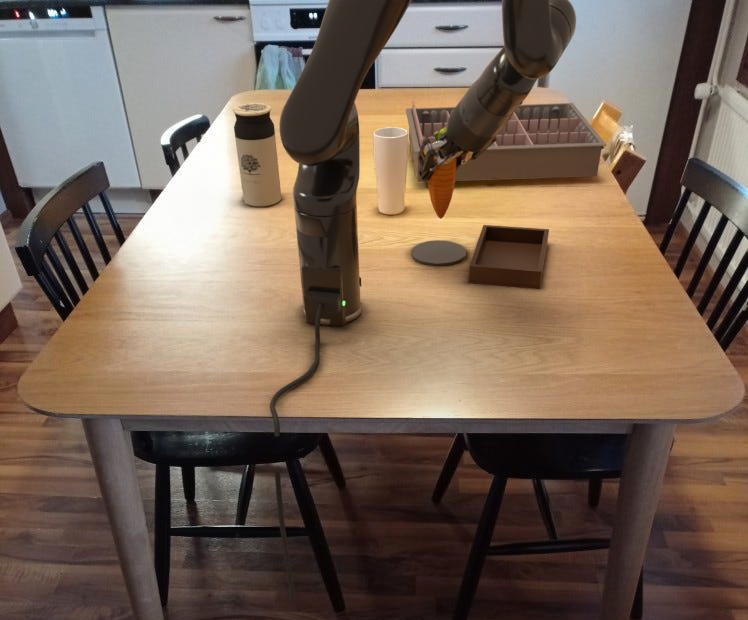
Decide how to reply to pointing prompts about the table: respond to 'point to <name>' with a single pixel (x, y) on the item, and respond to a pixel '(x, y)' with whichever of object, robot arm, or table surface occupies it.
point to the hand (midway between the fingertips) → (435, 173)
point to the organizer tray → (520, 143)
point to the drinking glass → (390, 168)
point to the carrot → (442, 183)
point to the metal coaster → (438, 253)
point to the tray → (509, 256)
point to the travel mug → (257, 154)
